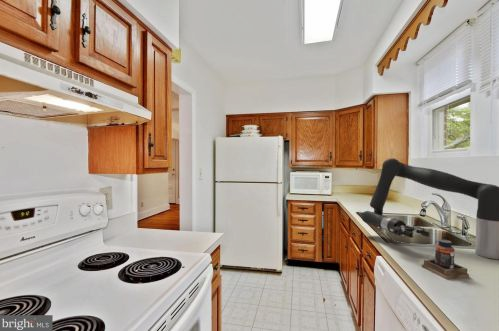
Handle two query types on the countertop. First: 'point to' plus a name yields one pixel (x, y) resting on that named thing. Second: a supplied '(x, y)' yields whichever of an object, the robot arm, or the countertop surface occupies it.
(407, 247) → the countertop surface
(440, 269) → the square wooden tray
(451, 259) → the supplement bottle
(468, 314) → the countertop surface
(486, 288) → the countertop surface
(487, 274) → the countertop surface
